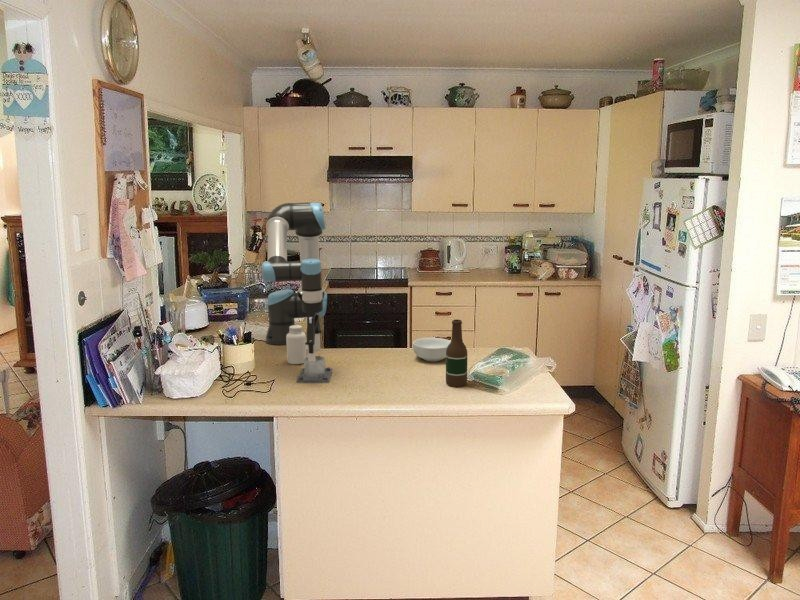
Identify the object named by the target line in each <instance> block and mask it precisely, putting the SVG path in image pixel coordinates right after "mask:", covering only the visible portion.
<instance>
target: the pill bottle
mask: <svg viewBox="0 0 800 600" xmlns="http://www.w3.org/2000/svg"><path fill="white" fill-rule="evenodd" d="M289 330H290V331H289V332H290V333H288V334H287V335H286V361H287V363H288V364H290V365H301V364H304V359H305V358H306V357H308V352H307V345H305V343H306V342H307V334H306V333H305V332H304V331H303V326H302V325H299V324H295V325H293V326H290V327H289Z"/></svg>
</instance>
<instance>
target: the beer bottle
mask: <svg viewBox="0 0 800 600" xmlns="http://www.w3.org/2000/svg"><path fill="white" fill-rule="evenodd" d="M451 324H452V325H451V326H452V328H451V339H450V341H451V342H450V344H449V345H448V347H447V350H446V358H445V384H446V385H447V386H449V387H453V388H462V387H463V388H464V387H465V386H466V385H467V384H468V350H467V346H466V345H465V343H464V342H463V328H462V324H463V321H462V320H461V319H454V320H453V319H452V321H451Z"/></svg>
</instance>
